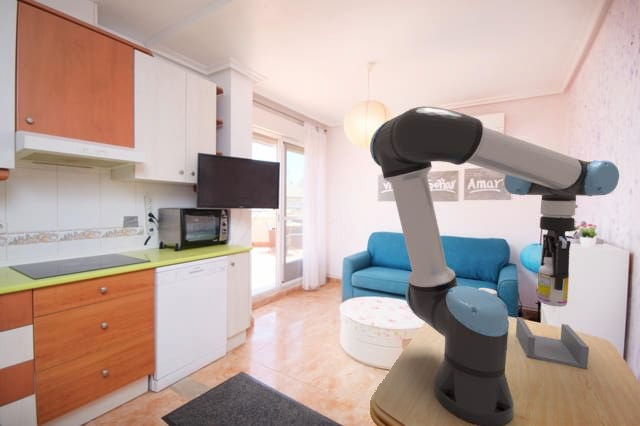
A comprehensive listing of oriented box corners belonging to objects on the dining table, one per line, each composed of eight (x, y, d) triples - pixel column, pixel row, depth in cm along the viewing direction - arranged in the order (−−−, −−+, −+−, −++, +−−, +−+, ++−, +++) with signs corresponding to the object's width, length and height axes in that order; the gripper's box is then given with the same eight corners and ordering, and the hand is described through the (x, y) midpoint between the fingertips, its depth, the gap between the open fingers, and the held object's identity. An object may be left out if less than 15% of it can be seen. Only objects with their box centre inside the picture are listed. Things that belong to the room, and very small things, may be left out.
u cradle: (527, 356, 80) (528, 336, 80) (515, 334, 93) (516, 316, 93) (587, 368, 75) (589, 347, 75) (566, 343, 88) (568, 324, 87)
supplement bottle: (565, 301, 84) (568, 258, 83) (568, 309, 78) (571, 262, 77) (536, 297, 88) (539, 255, 87) (537, 304, 82) (540, 259, 81)
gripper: (590, 219, 71) (583, 311, 72) (561, 214, 89) (556, 287, 90) (552, 218, 74) (546, 306, 75) (531, 213, 92) (527, 284, 93)
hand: (551, 296), depth 83 cm, fingers closed on supplement bottle, 7 cm apart
